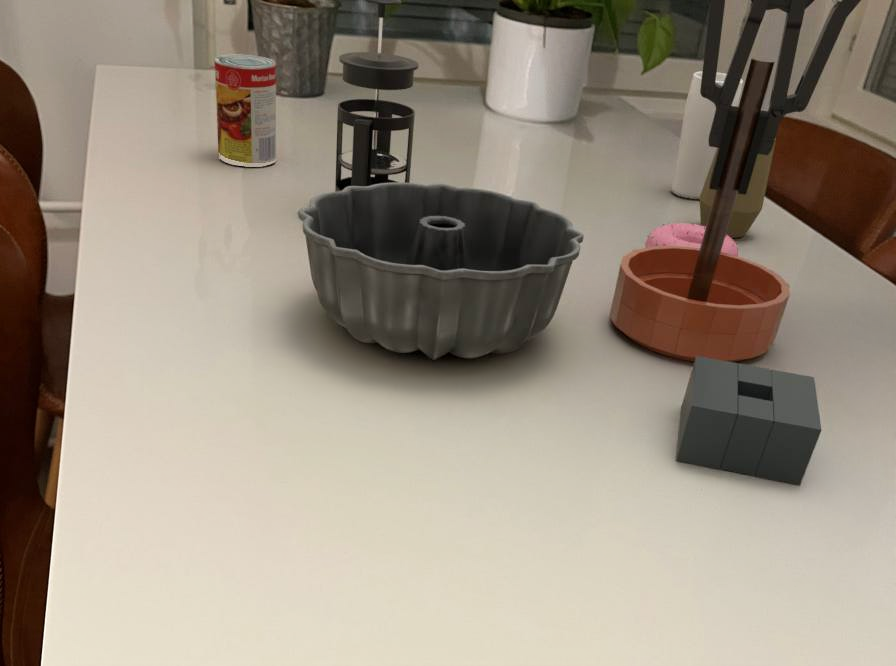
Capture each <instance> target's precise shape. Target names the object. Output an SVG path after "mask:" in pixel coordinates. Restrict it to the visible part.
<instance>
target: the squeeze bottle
mask: <svg viewBox="0 0 896 666" xmlns="http://www.w3.org/2000/svg"><path fill="white" fill-rule="evenodd" d="M770 87H771V79H770V80H769V84H768V87H767V91H766V94H765V98H764V101H763V105H762V108H761V110H762V111H768V108H769V100H770V99H769V97H770ZM776 141H777V138H775V141H774V144H773V148H772V150H771V152H770V153H769V155H762V154H758V155H757V159H756V162H755V165H754V169H753V172H752V176H751V179H750V183H749V186H748V190H747V193H746V195H744V194H738V193H737V196H736V200H735V203H734V207H733V210H732V214H731V218H730V221H729V225H728V228H727V232H726V235H729V237H730V238H732V239H734V238H743V237H745V236H747V233H749V230H750V229H751V227H752V225H753V224H754V222H755V220H756V219H757V218H758V216H759V215H760V213H761V212H762V210H763V206H764V201H765V196H766V191H767V187H768V181H769V176H770V171H771V166H772V161H773V156H774V151H775V146H776ZM718 149H719V148H717V149H716V152H715V155H714V158H713V160H712V163H711V166H710V169H709V172H708V174H707V177H706V180H705V183H704V186H703V188H702V191H701V194H700V199H699V217H700V218H699V219H700V224H701V226H705V227H706V225H707V221H708V218H709V214H710V210H711V206H712V203H713V199H714V195H715V192H716V190H714V189H709V186H710V179H711V175H712V171H713V168H714V164H715V160H716V156H717V152H718Z"/></svg>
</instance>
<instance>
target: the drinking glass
mask: <svg viewBox="0 0 896 666" xmlns="http://www.w3.org/2000/svg"><path fill="white" fill-rule="evenodd" d="M702 71H703V70H701V71H696V72H693V74H692V78H691V82H690V85H689V89H688V93H687V98H686V101H685V106H684V111H683V119H682V124H681V130H680V137H679V145H678V150H677V155H676V162H675V167H674V173H673V178H672V182H671V187H670V190H671V192H672V194H674V195H675V194H676V196H677V195H678V196H677V197H680V196H681V197H680V198H683V197H684V198H683V199H687V198H689V199H688V200H700V194H701V191H702V188H703V186H704V183H705V180H706V177H707V174H708V172H709V169H710V166H711V163H712V160H713V158H714V155H715V152H716V149H717V148H716V147H710V146H709V134H710V130H711V126H712V122H713V119H714V115H715V111H716V106H715V104H714V103H713V102H712V101H710V100H708V99H707V98H703V97H702V96H701V94H700V89H701V80H702ZM726 75H727V73H723V72H718V71H717V73H716V81H715V82H716V83H717V84H719V85H721V86H723V83H724V80H725V77H726ZM743 84H744V80H743V79H742V78H741V80H740V83H739V86H738V89H737V91H736V94H735V97H734V100H733V103H732V105H731V106H736V107H738V106H739V102H740V98H741V94H742V90H743Z"/></svg>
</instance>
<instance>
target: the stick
mask: <svg viewBox="0 0 896 666" xmlns="http://www.w3.org/2000/svg"><path fill="white" fill-rule="evenodd" d="M774 65H775V61H774V60H773V59H770V58H766V57H755V56H754V57H751V59H750V63H749V66H748V70H747V74H746V77H745V81H744V83H743V84H744V85H743V87H742V91H741V94H740V98H739V102H738V105H737V107H738V115H737V119H736V123H735V126H734V130H733V134H732V137H731V141H730V145H729V149H728V152H727V156H726V160H725V163H724V167H723V171H722V175H721V178H720V182H719V186H718V189H717V190H716V192H715V195H714V199H713V203H712V206H711V210H710V214H709V218H708V221H707V225H706V229H705V232H704V236H703V240H702V244H701V247H700V251H699V255H698V258H697V262H696V266H695V269H694V273H693V277H692V281H691V284H690V288H689V292H688V295H687V299H691V300H696V301H702V302H707V299H708V295H709V292H710V288H711V284H712V281H713V277H714V274H715V270H716V267H717V263H718V260H719V256H720V253H721V249H722V246H723V242H724V239H725V235H726V232H727V228H728V225H729V221H730V218H731V214H732V210H733V207H734V203H735V200H736V196H737V193H738V188H739V185H740V181H741V178H742V174H743V171H744V167H745V164H746V160H747V157H748V153H749V149H750V146H751V142H752V139H753V135H754V132H755V128H756V125H757V121H758V118H759V114H760V112H761V108H762V105H763V101H764V98H765V94H766V91H767V87H768V84H769V80H770V81H771V75H772V74H773V69H774Z"/></svg>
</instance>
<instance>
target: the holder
mask: <svg viewBox="0 0 896 666" xmlns="http://www.w3.org/2000/svg"><path fill="white" fill-rule="evenodd" d="M690 372H691V373H690V375H689V379H688V381H687V386H686V389H685V392H684V396H683V400H682V403H681V407H680V418H679V426H678V435H677V446H676V455H675V461H677V462H681V463H686V464H692V465H695V466H700V467H701V466H702V467H706V468H711V469H716V470H722V471H727V472H732V473H737V474H742V475H748V476H751V477H755V478H762V479H765V480H771V481H776V482H780V483H786V484H792V485H795V486H801V484H802V481H803V478H804V477H805V473H806V472H807V470H808V469H807V468H808V467H809V464H810V461H811V459H812V456H813V454H814V451H815V448H816V446H817V443H818V441H819V438H820V435H821V433H822V423H821V418H820V409H819V403H818V394H817V388H816V381H815V376H811V375H805V374H799V373H794V372H788V371H782V370H777V369H771V368H767V367H760V366H755V365H750V364H744V363H737V362H728V361H722V360H717V359H711V358H706V357H700V356H696V357H695V361H693V365H692V369H691V371H690Z"/></svg>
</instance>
